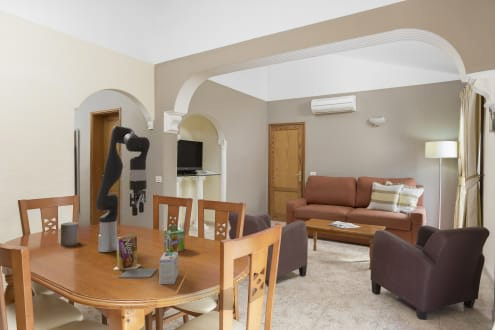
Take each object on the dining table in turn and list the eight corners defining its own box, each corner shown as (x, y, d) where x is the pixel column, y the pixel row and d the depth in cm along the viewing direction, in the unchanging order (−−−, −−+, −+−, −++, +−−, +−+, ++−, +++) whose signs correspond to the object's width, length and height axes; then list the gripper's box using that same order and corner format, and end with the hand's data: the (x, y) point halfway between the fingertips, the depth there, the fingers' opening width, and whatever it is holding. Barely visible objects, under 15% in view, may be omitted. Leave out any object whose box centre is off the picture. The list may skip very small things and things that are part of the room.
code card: (112, 269, 146) (112, 269, 146) (118, 264, 153) (118, 264, 153) (135, 269, 146) (135, 269, 146) (140, 264, 153) (140, 264, 153)
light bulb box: (163, 275, 139) (163, 251, 139) (178, 274, 139) (178, 251, 139) (158, 284, 128) (158, 259, 128) (174, 283, 129) (174, 258, 129)
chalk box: (170, 254, 171) (170, 228, 171) (163, 250, 178) (163, 225, 178) (185, 250, 177) (185, 225, 177) (178, 247, 184) (177, 223, 184)
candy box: (134, 263, 154) (134, 234, 154) (137, 265, 151) (137, 235, 151) (116, 267, 149) (116, 236, 148) (119, 269, 145) (118, 238, 145)
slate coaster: (119, 277, 136) (119, 276, 136) (127, 270, 146) (127, 268, 146) (150, 277, 136) (150, 276, 136) (156, 269, 146) (156, 268, 146)
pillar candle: (57, 246, 189) (56, 222, 189) (71, 242, 198) (71, 219, 198) (68, 247, 185) (67, 223, 185) (82, 243, 194) (81, 220, 194)
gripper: (135, 178, 148) (135, 211, 148) (123, 180, 133) (124, 216, 134) (150, 178, 148) (151, 211, 148) (140, 180, 133) (140, 216, 134)
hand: (138, 214), depth 141 cm, fingers open, 8 cm apart
